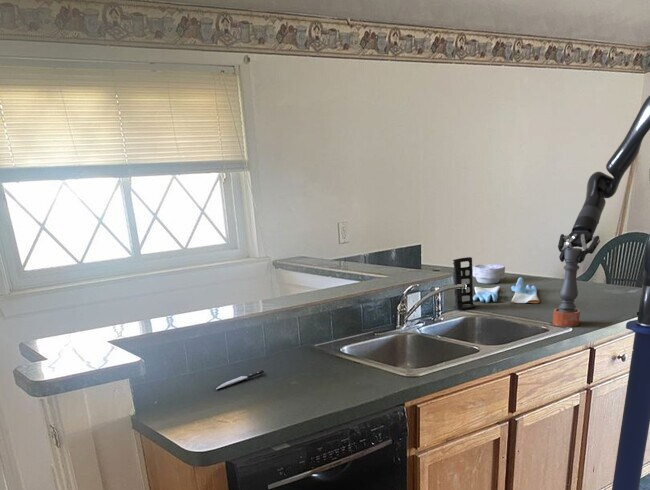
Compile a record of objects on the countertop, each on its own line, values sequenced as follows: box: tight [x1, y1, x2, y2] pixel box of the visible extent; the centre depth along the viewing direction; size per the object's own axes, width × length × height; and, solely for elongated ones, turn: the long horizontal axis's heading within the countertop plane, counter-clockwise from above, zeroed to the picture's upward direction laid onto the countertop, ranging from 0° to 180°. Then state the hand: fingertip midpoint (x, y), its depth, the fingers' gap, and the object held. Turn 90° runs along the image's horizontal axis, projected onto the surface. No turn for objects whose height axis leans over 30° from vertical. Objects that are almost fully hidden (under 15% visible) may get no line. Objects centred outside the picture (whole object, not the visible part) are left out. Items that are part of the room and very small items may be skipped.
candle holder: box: [558, 247, 583, 313], centre depth 234 cm, size 6×6×25 cm
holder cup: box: [552, 307, 581, 328], centre depth 238 cm, size 9×9×5 cm
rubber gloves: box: [473, 277, 540, 304], centre depth 287 cm, size 27×33×6 cm
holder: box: [452, 256, 475, 311], centre depth 267 cm, size 11×8×20 cm
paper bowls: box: [472, 263, 506, 285], centre depth 317 cm, size 15×15×8 cm
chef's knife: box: [215, 369, 265, 390], centre depth 194 cm, size 19×1×3 cm
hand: (570, 260), depth 229 cm, fingers closed on candle holder, 5 cm apart
